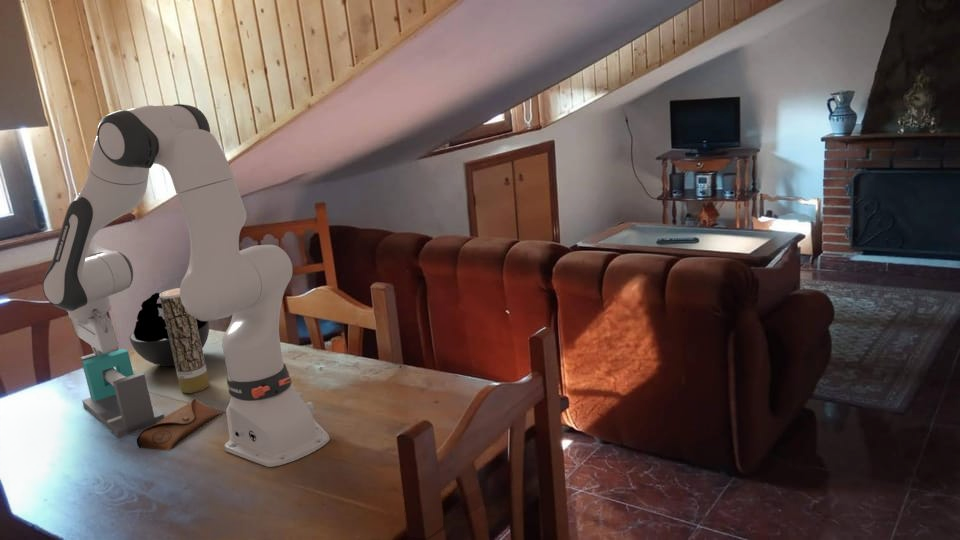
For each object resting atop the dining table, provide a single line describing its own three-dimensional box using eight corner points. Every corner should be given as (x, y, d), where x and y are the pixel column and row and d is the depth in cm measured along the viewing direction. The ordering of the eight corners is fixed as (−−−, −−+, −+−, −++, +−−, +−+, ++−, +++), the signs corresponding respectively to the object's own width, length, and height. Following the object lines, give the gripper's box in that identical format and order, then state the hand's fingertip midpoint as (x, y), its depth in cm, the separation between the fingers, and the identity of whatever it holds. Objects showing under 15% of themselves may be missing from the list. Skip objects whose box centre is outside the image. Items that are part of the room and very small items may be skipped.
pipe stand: (165, 420, 166) (153, 371, 163) (118, 438, 160) (106, 387, 156) (126, 391, 185) (115, 346, 182) (83, 406, 178) (71, 360, 175)
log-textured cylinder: (203, 393, 179) (182, 295, 172) (176, 395, 179) (154, 297, 172) (213, 381, 185) (194, 286, 179) (187, 383, 186) (166, 289, 179)
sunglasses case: (169, 451, 151) (150, 424, 151) (149, 464, 154) (131, 438, 154) (225, 411, 167) (208, 387, 167) (207, 424, 170) (190, 400, 170)
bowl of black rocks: (211, 369, 193) (197, 301, 188) (130, 383, 189) (113, 314, 184) (219, 344, 212) (206, 281, 207) (145, 356, 208) (130, 293, 203)
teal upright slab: (136, 387, 175) (128, 351, 173) (95, 401, 169) (86, 364, 167) (132, 384, 177) (123, 348, 175) (91, 397, 171) (82, 361, 169)
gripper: (117, 309, 165) (131, 367, 169) (90, 295, 180) (103, 348, 183) (87, 318, 161) (102, 376, 165) (62, 302, 176) (76, 356, 179)
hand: (102, 361), depth 174 cm, fingers closed
